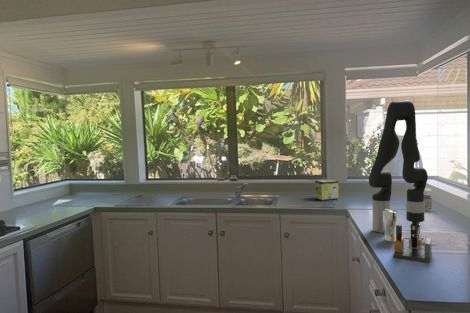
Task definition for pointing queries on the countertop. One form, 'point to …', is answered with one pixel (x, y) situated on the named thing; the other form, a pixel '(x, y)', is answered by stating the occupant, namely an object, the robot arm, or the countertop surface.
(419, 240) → the block
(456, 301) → the countertop surface
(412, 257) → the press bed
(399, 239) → the press ram
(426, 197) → the french press
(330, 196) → the protein box
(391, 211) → the beer glass
